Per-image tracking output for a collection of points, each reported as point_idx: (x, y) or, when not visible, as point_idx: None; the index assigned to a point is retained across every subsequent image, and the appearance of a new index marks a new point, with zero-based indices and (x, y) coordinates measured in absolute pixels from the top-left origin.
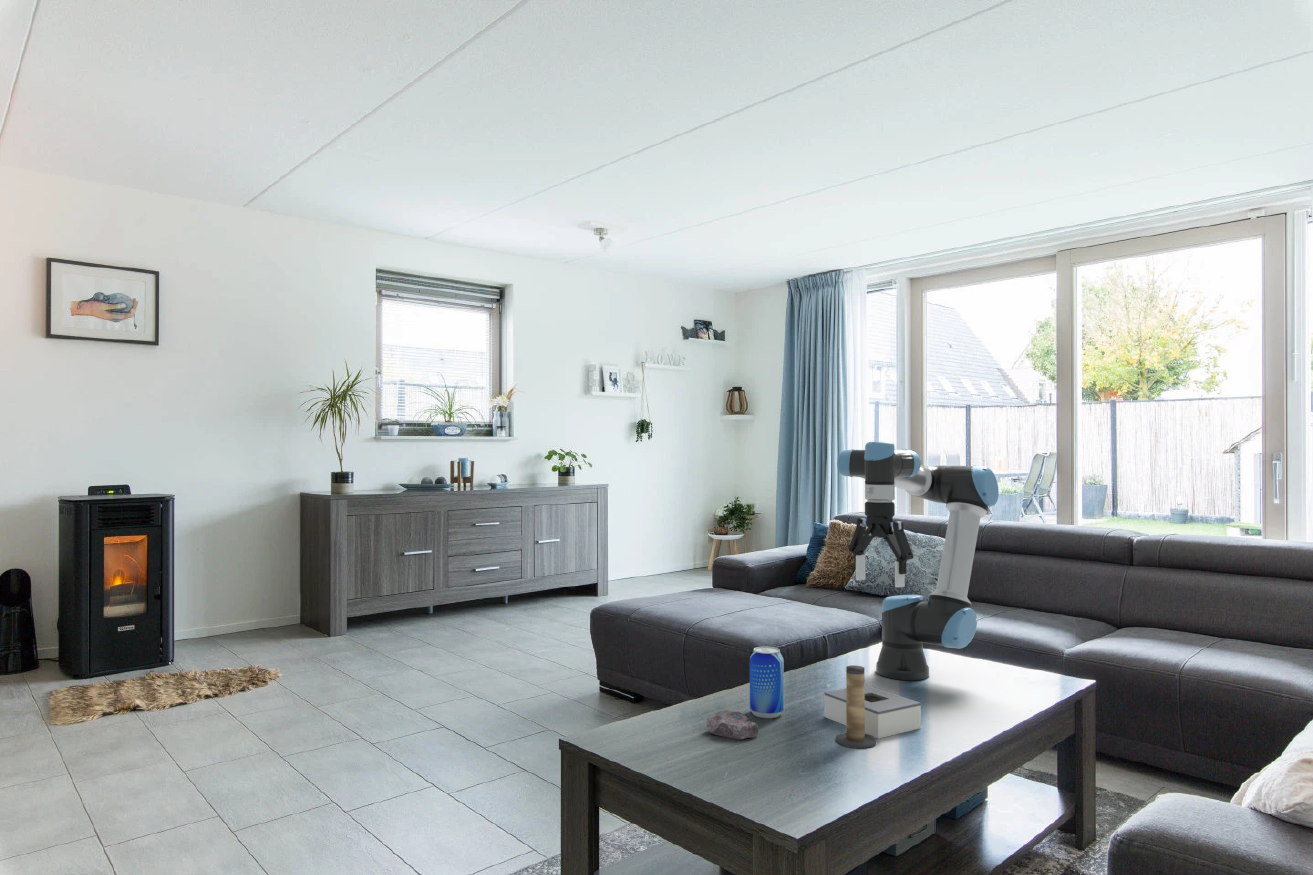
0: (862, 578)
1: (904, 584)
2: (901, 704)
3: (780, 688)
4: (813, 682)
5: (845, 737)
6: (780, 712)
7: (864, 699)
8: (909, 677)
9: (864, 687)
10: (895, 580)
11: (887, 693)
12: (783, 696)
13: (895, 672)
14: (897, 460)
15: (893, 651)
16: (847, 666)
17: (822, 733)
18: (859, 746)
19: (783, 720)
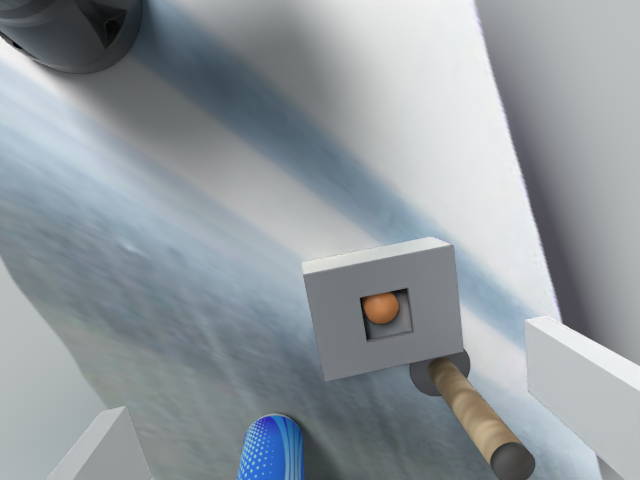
0: (131, 444)
1: (561, 326)
2: (446, 287)
3: (300, 463)
4: (100, 265)
5: (429, 380)
6: (298, 426)
7: (486, 402)
8: (135, 26)
9: (500, 419)
10: (576, 427)
11: (376, 270)
12: (288, 436)
13: (111, 52)
14: None
15: (51, 18)
16: (500, 478)
17: (390, 394)
18: (466, 378)
19: (314, 421)
